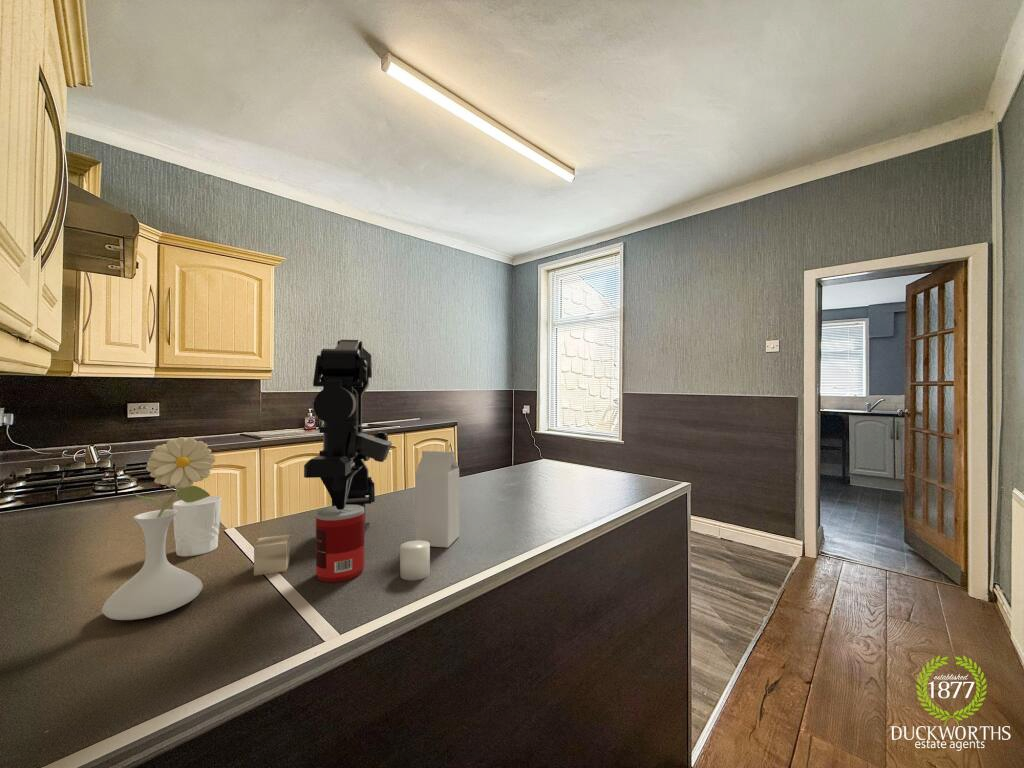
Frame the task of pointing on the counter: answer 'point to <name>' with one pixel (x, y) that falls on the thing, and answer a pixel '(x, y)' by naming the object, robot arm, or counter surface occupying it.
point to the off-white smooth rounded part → (414, 560)
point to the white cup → (197, 526)
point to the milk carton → (437, 498)
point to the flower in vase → (163, 536)
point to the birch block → (271, 554)
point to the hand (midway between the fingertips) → (340, 509)
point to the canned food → (340, 543)
